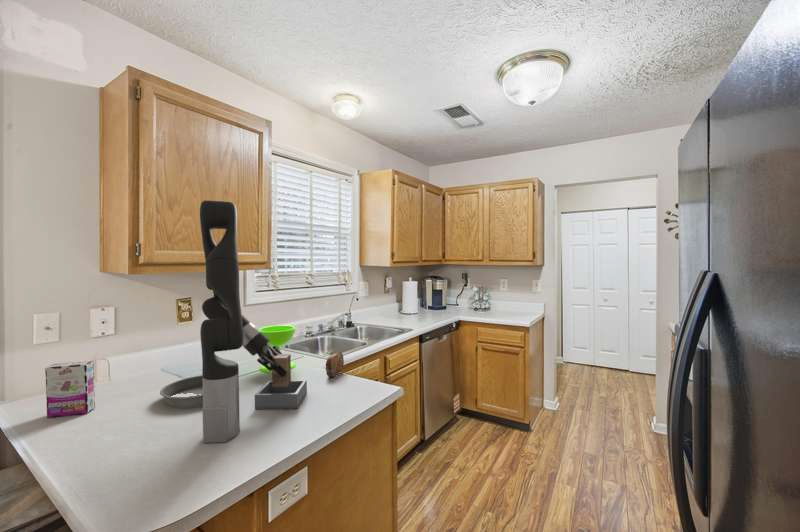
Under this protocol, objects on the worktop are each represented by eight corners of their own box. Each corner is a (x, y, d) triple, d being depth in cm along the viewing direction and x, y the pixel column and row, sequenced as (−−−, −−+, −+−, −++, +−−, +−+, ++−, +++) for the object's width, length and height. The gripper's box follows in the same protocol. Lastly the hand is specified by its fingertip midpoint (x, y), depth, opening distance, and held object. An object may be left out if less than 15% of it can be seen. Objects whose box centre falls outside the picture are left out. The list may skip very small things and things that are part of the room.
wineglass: (258, 365, 172) (257, 327, 172) (292, 360, 179) (292, 324, 179) (260, 374, 158) (259, 333, 157) (298, 369, 164) (297, 330, 164)
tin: (331, 379, 150) (331, 359, 150) (324, 379, 151) (324, 359, 151) (344, 368, 165) (344, 350, 165) (337, 368, 166) (337, 350, 166)
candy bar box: (96, 408, 124) (94, 360, 123) (87, 414, 119) (86, 364, 119) (56, 412, 121) (54, 363, 120) (45, 418, 116) (44, 367, 116)
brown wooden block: (286, 386, 125) (286, 358, 125) (272, 386, 125) (271, 358, 125) (290, 381, 130) (290, 354, 130) (276, 381, 130) (276, 354, 130)
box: (297, 409, 121) (297, 394, 121) (254, 410, 121) (254, 395, 120) (306, 393, 135) (306, 380, 135) (268, 394, 135) (268, 380, 134)
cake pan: (164, 391, 139) (164, 380, 139) (234, 381, 150) (234, 370, 150) (155, 416, 117) (155, 402, 117) (238, 401, 129) (238, 389, 128)
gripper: (251, 335, 120) (289, 371, 121) (266, 327, 134) (299, 359, 135) (235, 352, 120) (273, 387, 121) (252, 341, 134) (285, 373, 135)
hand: (287, 372), depth 128 cm, fingers closed on brown wooden block, 5 cm apart
